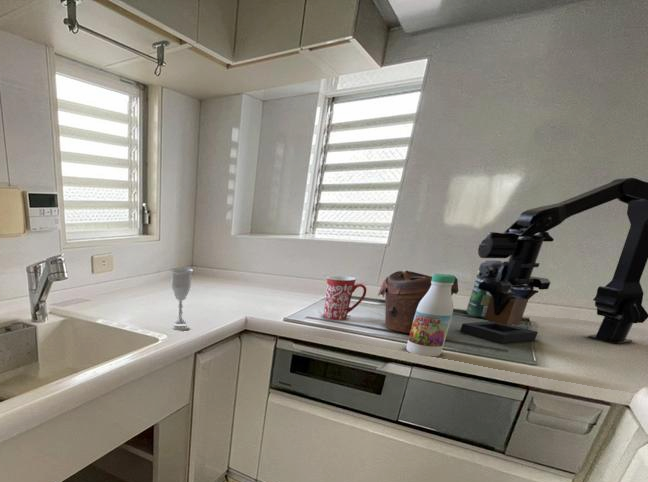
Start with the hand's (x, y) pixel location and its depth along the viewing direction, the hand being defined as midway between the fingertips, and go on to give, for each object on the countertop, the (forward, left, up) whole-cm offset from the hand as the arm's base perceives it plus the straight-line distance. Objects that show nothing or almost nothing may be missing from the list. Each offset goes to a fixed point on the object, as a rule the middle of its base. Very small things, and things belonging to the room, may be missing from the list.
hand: (503, 314), depth 116 cm
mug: (+31, -30, -7) cm, 43 cm away
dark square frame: (0, 0, -6) cm, 6 cm away
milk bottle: (+34, +6, -7) cm, 35 cm away
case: (+20, -13, -7) cm, 24 cm away
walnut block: (0, 0, -2) cm, 2 cm away
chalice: (+88, -33, -7) cm, 94 cm away
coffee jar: (-18, -20, -7) cm, 28 cm away
